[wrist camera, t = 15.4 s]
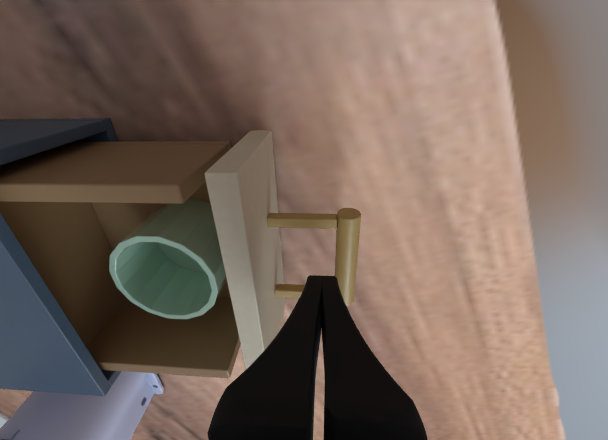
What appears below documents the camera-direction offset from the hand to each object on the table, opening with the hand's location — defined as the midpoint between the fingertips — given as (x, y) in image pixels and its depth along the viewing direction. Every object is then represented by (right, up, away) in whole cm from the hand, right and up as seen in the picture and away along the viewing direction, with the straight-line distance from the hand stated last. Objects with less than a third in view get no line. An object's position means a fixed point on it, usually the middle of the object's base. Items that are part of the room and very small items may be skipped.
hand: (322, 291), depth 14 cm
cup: (-8, +2, +4) cm, 9 cm away
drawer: (-6, +3, +5) cm, 9 cm away
